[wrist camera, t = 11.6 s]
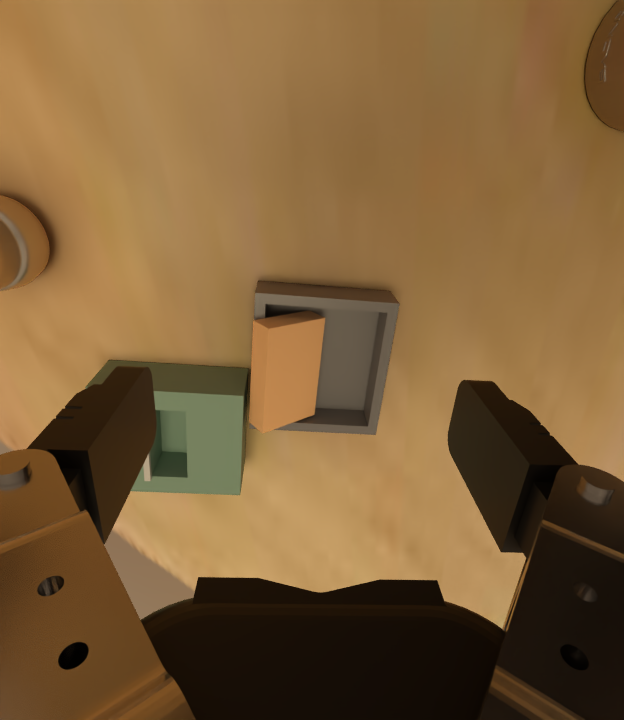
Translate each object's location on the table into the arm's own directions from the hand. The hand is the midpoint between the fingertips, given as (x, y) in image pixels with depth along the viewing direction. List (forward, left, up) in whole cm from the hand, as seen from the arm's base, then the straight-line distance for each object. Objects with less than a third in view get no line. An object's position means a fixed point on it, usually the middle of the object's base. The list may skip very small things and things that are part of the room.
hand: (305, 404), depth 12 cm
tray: (-3, +10, -26) cm, 28 cm away
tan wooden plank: (0, +15, -23) cm, 27 cm away
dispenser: (+9, +17, -26) cm, 32 cm away
